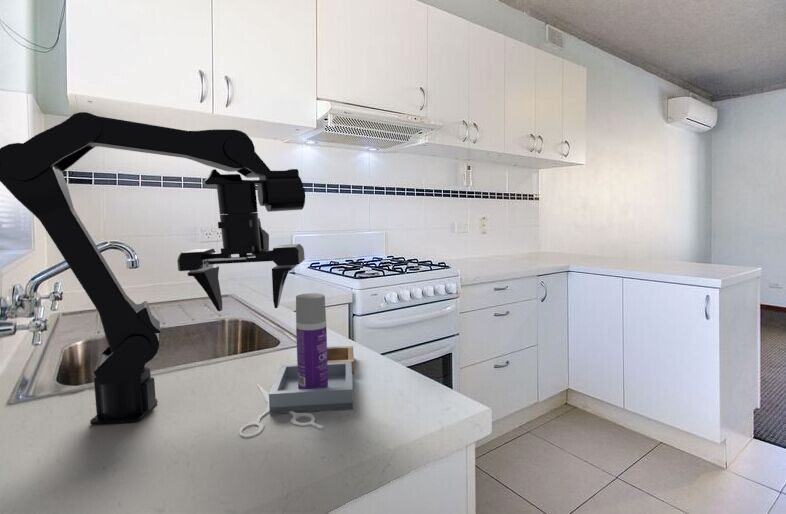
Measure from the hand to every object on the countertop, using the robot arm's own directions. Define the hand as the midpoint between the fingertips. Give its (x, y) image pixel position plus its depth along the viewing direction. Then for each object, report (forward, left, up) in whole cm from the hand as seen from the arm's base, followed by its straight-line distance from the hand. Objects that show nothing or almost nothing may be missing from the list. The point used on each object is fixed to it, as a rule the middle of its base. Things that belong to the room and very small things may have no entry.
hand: (248, 309), depth 70 cm
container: (+10, -4, -13) cm, 17 cm away
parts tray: (+11, -4, -13) cm, 18 cm away
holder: (+13, +8, -13) cm, 20 cm away
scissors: (+5, -7, -14) cm, 16 cm away
